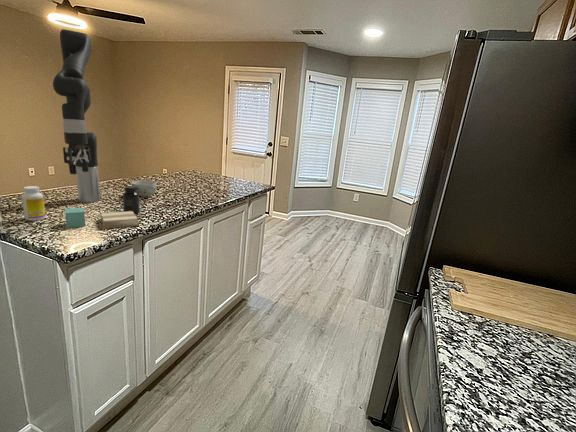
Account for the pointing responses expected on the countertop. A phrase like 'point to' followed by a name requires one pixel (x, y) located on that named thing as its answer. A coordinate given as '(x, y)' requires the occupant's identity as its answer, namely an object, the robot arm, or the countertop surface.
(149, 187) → the teacup
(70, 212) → the teal cube
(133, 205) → the supplement bottle
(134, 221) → the birch pedestal
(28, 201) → the supplement bottle
